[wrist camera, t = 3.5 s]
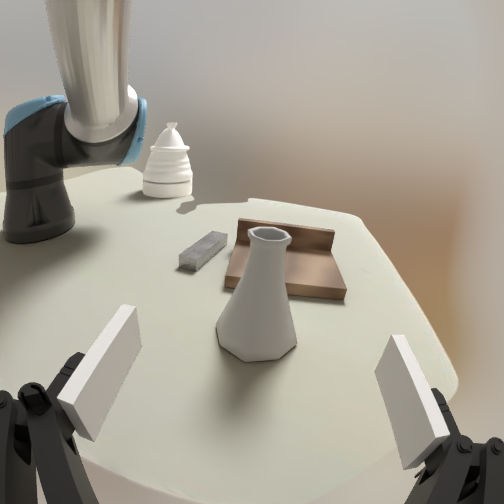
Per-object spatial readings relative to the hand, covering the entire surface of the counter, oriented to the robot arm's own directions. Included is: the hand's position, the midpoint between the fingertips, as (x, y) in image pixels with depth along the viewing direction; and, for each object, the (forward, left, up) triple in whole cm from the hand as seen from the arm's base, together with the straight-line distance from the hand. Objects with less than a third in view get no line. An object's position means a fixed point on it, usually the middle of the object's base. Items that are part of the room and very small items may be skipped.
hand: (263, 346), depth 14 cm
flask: (0, +10, -8) cm, 13 cm away
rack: (+3, +24, -8) cm, 25 cm away
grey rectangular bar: (-8, +26, -8) cm, 28 cm away
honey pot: (-26, +60, -8) cm, 66 cm away
